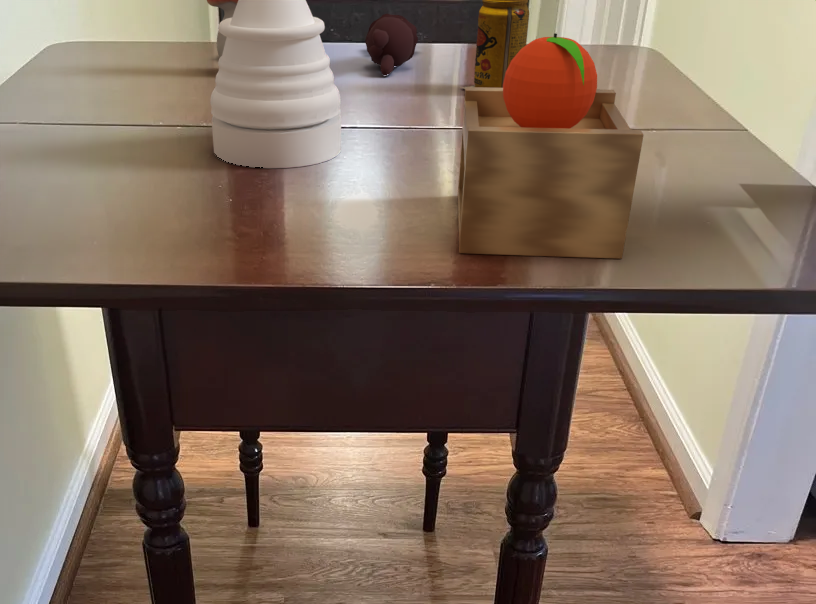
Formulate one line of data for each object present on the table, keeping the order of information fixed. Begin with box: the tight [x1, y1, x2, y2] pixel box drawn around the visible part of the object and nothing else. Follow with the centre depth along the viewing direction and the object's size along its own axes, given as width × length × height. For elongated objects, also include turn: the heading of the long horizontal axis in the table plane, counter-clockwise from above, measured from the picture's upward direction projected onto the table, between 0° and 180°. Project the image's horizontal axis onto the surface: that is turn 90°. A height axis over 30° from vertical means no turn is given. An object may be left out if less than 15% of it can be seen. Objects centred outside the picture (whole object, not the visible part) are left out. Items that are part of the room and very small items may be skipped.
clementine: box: [503, 32, 598, 128], centre depth 69 cm, size 8×7×7 cm
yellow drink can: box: [459, 0, 530, 90], centre depth 113 cm, size 7×8×12 cm
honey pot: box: [209, 0, 342, 169], centre depth 88 cm, size 13×13×18 cm
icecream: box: [364, 13, 419, 76], centre depth 126 cm, size 7×7×15 cm
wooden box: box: [457, 86, 645, 260], centre depth 72 cm, size 12×14×9 cm
